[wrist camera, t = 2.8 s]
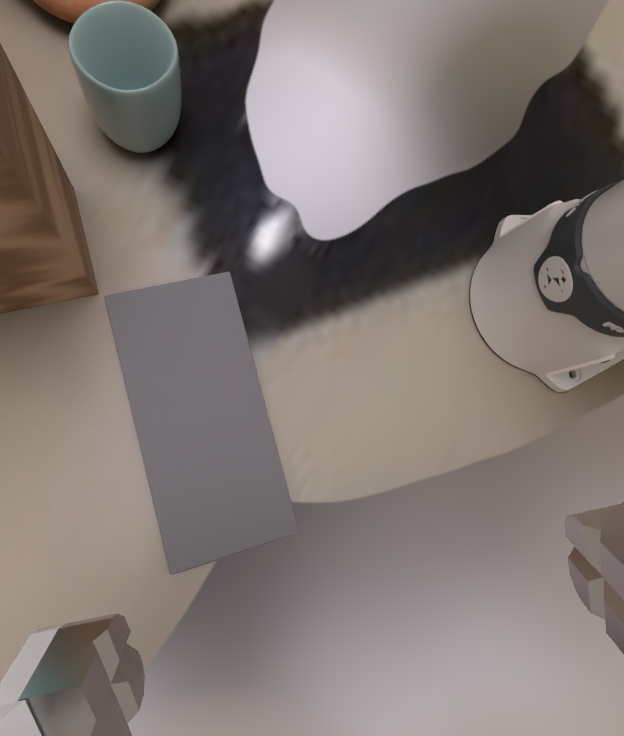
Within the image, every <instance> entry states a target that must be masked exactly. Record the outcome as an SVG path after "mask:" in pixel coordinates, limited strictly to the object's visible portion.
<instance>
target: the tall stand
mask: <svg viewBox="0 0 624 736" xmlns="http://www.w3.org/2000/svg"><path fill="white" fill-rule="evenodd" d="M95 294H98V289H97V285H96V281H95V277H94V272H93V268H92V264H91V260H90V255H89V251H88V247H87V243H86V238H85V234H84V230H83V226H82V222H81V217H80V213H79V209H78V205H77V200H76V196H75V192H74V188H73V186H72V184H71V182H70V180H69V178H68V176H67V174H66V172H65V170H64V168H63V166H62V164H61V162H60V160H59V158H58V156H57V154H56V152H55V150H54V148H53V146H52V144H51V142H50V140H49V138H48V137H47V135H46V133H45V131H44V129H43V127H42V125H41V123H40V121H39V119H38V117H37V115H36V113H35V111H34V109H33V107H32V105H31V103H30V101H29V99H28V97H27V95H26V93H25V91H24V89H23V87H22V85H21V83H20V81H19V79H18V77H17V75H16V73H15V71H14V69H13V67H12V65H11V63H10V61H9V59H8V57H7V55H6V53H5V51H4V50H3V48H2V46H1V44H0V313H4V312H9V311H14V310H19V309H24V308H29V307H34V306H39V305H44V304H49V303H54V302H59V301H65V300H70V299H75V298H80V297H85V296H90V295H95Z"/></svg>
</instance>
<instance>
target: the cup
mask: <svg viewBox="0 0 624 736" xmlns="http://www.w3.org/2000/svg"><path fill="white" fill-rule="evenodd" d="M68 46H69V52H70V57H71V61H72V64H73V67H74V70H75V73H76V76H77V79H78V82H79V84H80V87H81V90H82V92H83V95H84V97H85V100H86V102H87V104H88V107H89V109H90V111H91V113H92V115H93V117H94V119H95V121H96V122H97V124H98V125H99V126H100V128H101V129H102V131H103V132H104V133H105V134H106V135H107V136H108V137H109V138H110V139H111V140H112V141H113V142H115V143H116V144H117V145H119V146H120V147H122V148H124V149H126V150H129V151H132V152H137V153H147V152H151V151H154V150H156V149H158V148H160V147H162V146H163V145H164V144H165V143H167V142H168V141H169V140H170V138H171V137H172V136H173V134H174V132H175V131H176V129H177V126H178V123H179V119H180V114H181V102H182V86H181V70H180V59H179V52H178V48H177V43H176V40H175V38H174V36H173V34H172V32H171V31H170V29H169V28H168V27H167V25H166V24H165V23H164V22H163V21H162V20H161V19H160V18H159V17H158V16H157V15H155V14H154V13H153V12H151V11H150V10H148V9H146V8H144V7H143V6H141V5H138V4H135V3H132V2H128V1H122V0H116V1H108V2H103V3H100V4H98V5H95V6H93V7H92V8H90V9H89V10H87V11H85V12H84V13H83V14H82V15H81V16H80V17H79V18H78V19H77V21H76V22H75V24H74V25H73V27H72V29H71V32H70V34H69V42H68Z"/></svg>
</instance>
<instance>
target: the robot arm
mask: <svg viewBox="0 0 624 736" xmlns="http://www.w3.org/2000/svg"><path fill="white" fill-rule="evenodd" d="M470 301H471V309H472V313H473V317H474V320H475V323H476V325H477V327H478V329H479V331H480V333H481V335H482V337H483V338H484V340H485V341H486V342H487V344H488V345H489V346H490V347H491V349H492V350H493V351H494V352H495V353H496V354H498V355H499V356H500V357H501V358H502V359H504V360H505V361H507V362H508V363H510V364H512V365H514V366H516V367H518V368H521V369H523V370H526V371H528V372H531V373H533V374H535V375H537V376H538V377H539V378H540V379H541V380H542V381H543V382H544V383H545V384H546V385H548V386H549V387H550V388H551V389H553V390H554V391H556V392H564V391H567V390H570V389H572V388H574V387H576V386H577V385H579V384H581V383H583V382H584V381H586V380H588V379H590V378H591V377H593V376H595V375H597V374H598V373H600V372H602V371H604V370H605V369H607V368H609V367H611V366H613V365H614V364H616V363H618V362H620V361H621V360H623V359H624V180H622V181H621V182H616V183H612V184H610V185H607V186H605V187H603V188H601V189H599V190H597V191H594V192H592V193H590V194H589V195H587V196H586V197H584V198H582V199H581V200H580V199H574V200H571V201H568V202H564V203H563V202H562V201H560V200H559V201H556V202H553V203H551V204H550V205H548V206H546V207H545V208H543V209H541V210H540V211H538V212H537V213H535V214H533V215H509V216H507V217H506V218H504V219H502V220H501V221H500V222H499V224H498V227H497V230H496V233H495V237H494V242H493V244H492V246H491V247H490V248H489V250H488V251H487V252H486V253H485V254H484V256H483V257H482V258H481V260H480V261H479V263H478V265H477V267H476V269H475V271H474V274H473V277H472V282H471V289H470ZM569 372H570V373H571V374H572V377H570V376H569ZM565 531H566V537H567V538H568V539H569V540H570V541H571V543H572V544H573V545H574V546H575V547H574V548H573V550H572V552H571V554H570V555H569V557H568V562H569V569H570V575H571V578H572V580H573V584H574V587H575V589H576V591H577V593H578V595H579V597H580V598H581V600H582V602H583V603H584V605H585V606H586V607H587V608H588V610H589V611H590V612H591V613H593V614H595V615H597V616H599V617H601V618H603V619H605V622H606V633H607V634H608V635H609V636H610V638H611V639H612V640H613V641H614V642H615V644H616V645H617V646H618V648H619V649H620V650H621V651H622V653H623V654H624V502H623V503H622V504H618V505H614V506H609V507H605V508H601V509H596V510H592V511H587V512H583V513H578V514H574V515H569V516H567V517H566V522H565ZM129 634H130V629H129V627H128V624H127V622H126V620H125V617H124V616H122V615H120V614H113V615H108V616H103V617H98V618H92V619H87V620H82V621H77V622H72V623H67V624H65V625H57V626H53V627H48V628H43V629H39V630H37V631H36V632H34V633H32V634H31V635H30V637H29V638H28V640H27V641H26V643H25V645H24V646H23V648H22V649H21V651H20V653H19V654H18V656H17V657H16V659H15V660H14V662H13V664H12V665H11V667H10V668H9V670H8V671H7V673H6V675H5V676H4V678H3V679H2V681H1V683H0V736H131V732H130V730H129V727H128V725H127V723H128V722H129V721H130V720H131V719H132V718H133V717H134V715H135V714H136V713H137V712H138V711H139V709H140V706H141V702H142V698H143V695H144V677H145V676H144V670H143V664H142V661H141V658H140V655H139V652H138V651H137V650H135V649H134V648H133V647H131V646H130V645H128V644H127V643H126V642H127V639H128V637H129Z"/></svg>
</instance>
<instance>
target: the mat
mask: <svg viewBox="0 0 624 736" xmlns="http://www.w3.org/2000/svg"><path fill="white" fill-rule="evenodd" d="M105 300H106V304H107V308H108V313H109V317H110V321H111V325H112V329H113V334H114V338H115V342H116V346H117V350H118V355H119V359H120V363H121V367H122V372H123V376H124V380H125V384H126V388H127V393H128V397H129V401H130V405H131V409H132V414H133V418H134V422H135V426H136V431H137V435H138V439H139V443H140V447H141V452H142V456H143V460H144V464H145V468H146V473H147V477H148V481H149V485H150V490H151V494H152V498H153V502H154V506H155V511H156V515H157V519H158V523H159V528H160V532H161V536H162V540H163V544H164V549H165V553H166V557H167V561H168V565H169V570H170V574H174V573H177V572H180V571H183V570H186V569H189V568H192V567H195V566H198V565H201V564H204V563H207V562H210V561H214V560H217V559H220V558H223V557H225V556H229V555H232V554H235V553H238V552H241V551H244V550H247V549H250V548H253V547H256V546H260V545H263V544H265V543H269V542H271V541H275V540H278V539H281V538H284V537H287V536H290V535H293V534H296V533H299V530H298V527H297V523H296V519H295V515H294V512H293V508H292V504H291V500H290V497H289V493H288V489H287V485H286V482H285V478H284V474H283V470H282V467H281V463H280V459H279V455H278V452H277V448H276V444H275V440H274V436H273V433H272V429H271V425H270V421H269V418H268V414H267V410H266V406H265V403H264V399H263V395H262V391H261V388H260V384H259V380H258V376H257V373H256V369H255V365H254V361H253V358H252V354H251V350H250V346H249V343H248V339H247V335H246V331H245V328H244V324H243V320H242V316H241V312H240V309H239V305H238V301H237V297H236V294H235V290H234V286H233V282H232V279H231V275H230V272H225V273H220V274H215V275H210V276H205V277H199V278H194V279H189V280H184V281H179V282H174V283H169V284H164V285H159V286H154V287H149V288H144V289H139V290H134V291H129V292H124V293H119V294H114V295H109V296H105Z"/></svg>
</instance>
